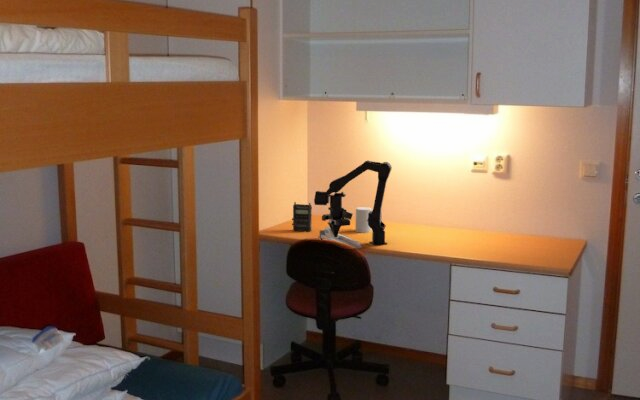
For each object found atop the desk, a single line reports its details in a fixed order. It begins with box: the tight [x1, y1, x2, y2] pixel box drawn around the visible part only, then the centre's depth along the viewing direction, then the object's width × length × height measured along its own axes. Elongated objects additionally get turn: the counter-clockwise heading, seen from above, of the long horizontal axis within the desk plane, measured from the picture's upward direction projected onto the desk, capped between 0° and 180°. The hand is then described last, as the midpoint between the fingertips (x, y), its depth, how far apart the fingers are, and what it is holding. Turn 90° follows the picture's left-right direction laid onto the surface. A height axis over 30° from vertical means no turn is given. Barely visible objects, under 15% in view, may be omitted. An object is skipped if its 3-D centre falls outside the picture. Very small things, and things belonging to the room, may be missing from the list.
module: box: [324, 226, 338, 239], centre depth 354 cm, size 5×5×5 cm
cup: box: [355, 206, 372, 234], centre depth 374 cm, size 8×8×12 cm
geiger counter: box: [291, 201, 313, 233], centre depth 373 cm, size 10×4×15 cm, turn 77°
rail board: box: [317, 229, 363, 249], centre depth 347 cm, size 26×10×4 cm, turn 27°
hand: (335, 237), depth 350 cm, fingers closed
